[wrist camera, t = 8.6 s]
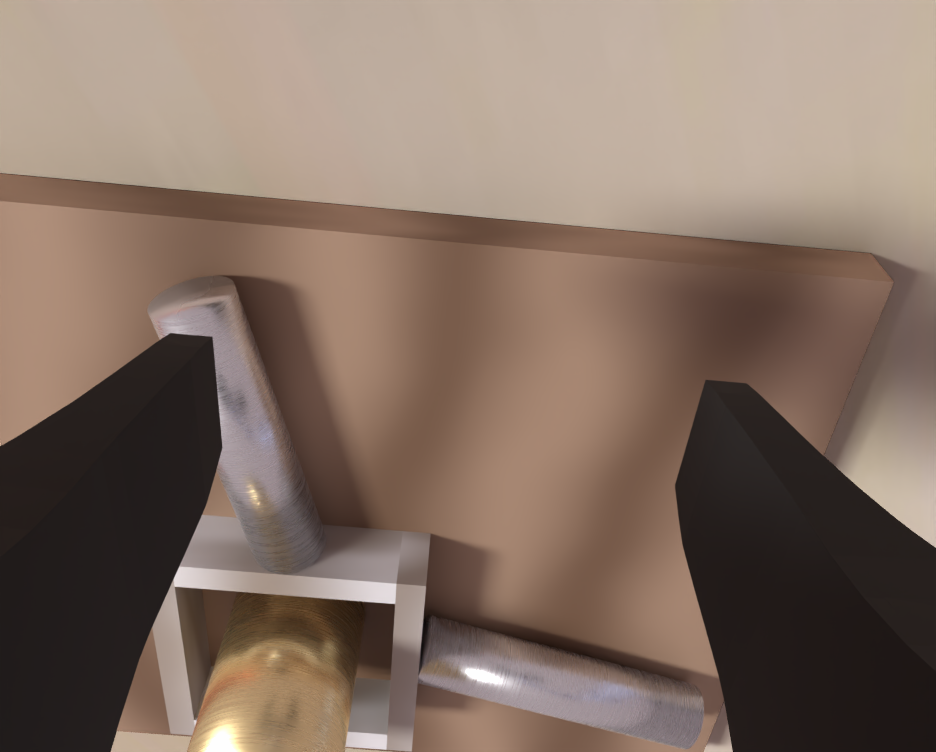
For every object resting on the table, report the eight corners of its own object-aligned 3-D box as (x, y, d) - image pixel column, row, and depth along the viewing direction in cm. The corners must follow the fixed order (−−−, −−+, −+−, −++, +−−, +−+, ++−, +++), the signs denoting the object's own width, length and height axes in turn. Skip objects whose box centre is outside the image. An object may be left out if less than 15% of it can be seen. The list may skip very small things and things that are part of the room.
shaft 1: (163, 283, 21) (134, 326, 19) (244, 270, 21) (221, 313, 19) (264, 526, 25) (248, 578, 24) (331, 518, 25) (320, 571, 23)
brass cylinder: (371, 571, 26) (342, 756, 21) (359, 657, 28) (331, 842, 23) (236, 554, 26) (175, 737, 21) (235, 642, 28) (180, 826, 23)
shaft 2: (696, 671, 28) (709, 726, 27) (668, 707, 29) (678, 762, 28) (433, 601, 27) (429, 655, 25) (413, 641, 28) (407, 695, 26)
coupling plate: (871, 253, 22) (929, 326, 19) (686, 736, 33) (705, 828, 30) (-33, 170, 21) (-118, 232, 18) (93, 691, 32) (53, 781, 29)
